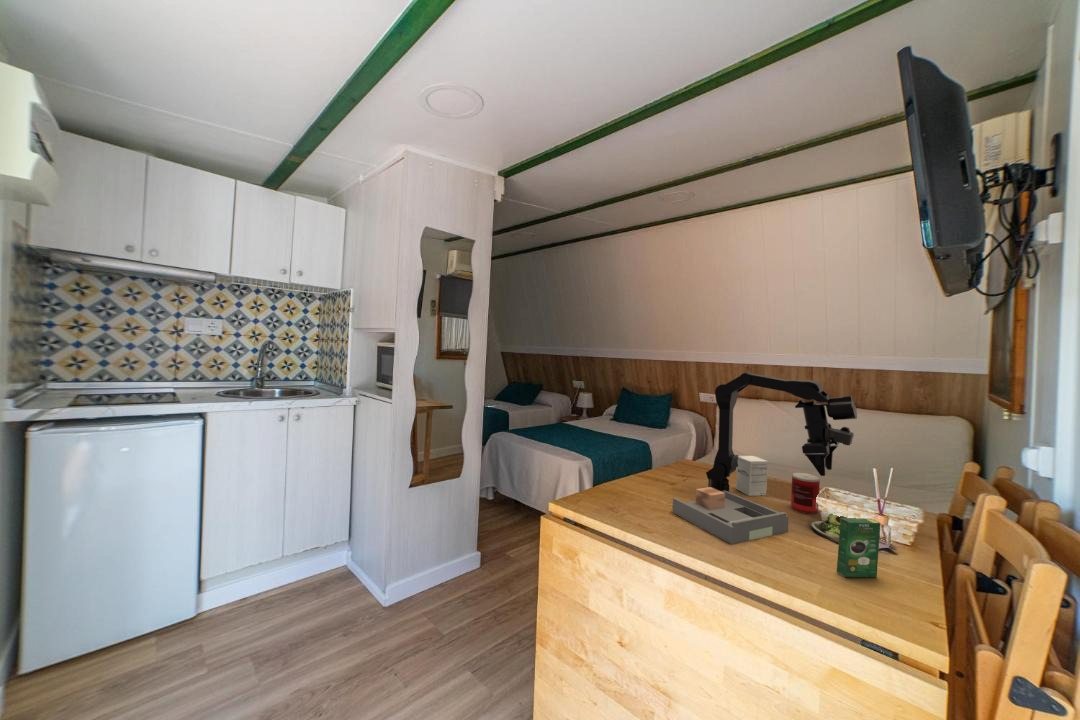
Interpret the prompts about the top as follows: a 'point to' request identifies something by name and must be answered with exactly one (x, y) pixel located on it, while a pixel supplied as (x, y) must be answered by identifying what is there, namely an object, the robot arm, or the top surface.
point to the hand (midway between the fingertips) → (826, 472)
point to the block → (710, 498)
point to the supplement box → (752, 475)
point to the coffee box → (858, 547)
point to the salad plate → (832, 528)
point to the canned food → (804, 492)
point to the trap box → (734, 518)
